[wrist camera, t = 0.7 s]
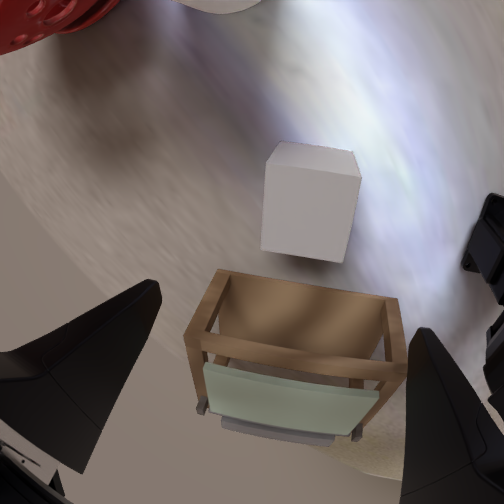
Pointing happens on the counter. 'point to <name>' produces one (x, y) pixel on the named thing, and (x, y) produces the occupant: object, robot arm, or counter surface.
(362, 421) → the frame
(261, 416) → the trapdoor
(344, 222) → the stone
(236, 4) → the can
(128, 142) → the counter surface
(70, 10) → the plant pot
